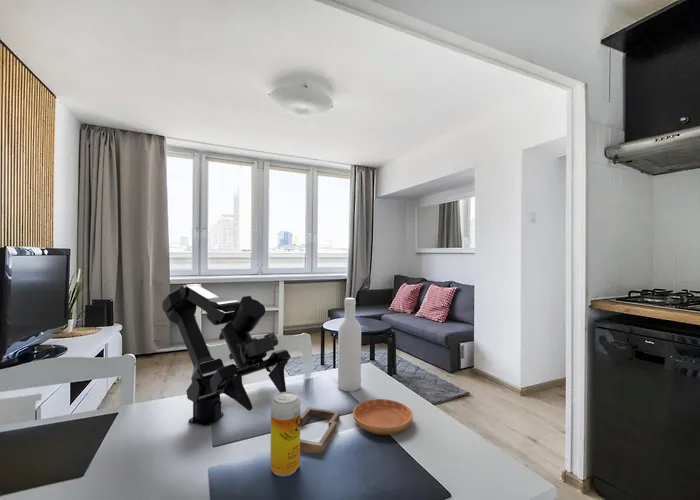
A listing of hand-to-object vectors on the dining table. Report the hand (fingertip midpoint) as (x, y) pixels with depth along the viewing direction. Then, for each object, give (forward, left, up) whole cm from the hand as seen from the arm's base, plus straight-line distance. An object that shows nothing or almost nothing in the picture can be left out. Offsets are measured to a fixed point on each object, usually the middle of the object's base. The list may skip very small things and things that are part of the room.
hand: (268, 402), depth 72 cm
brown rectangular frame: (+5, +13, -12) cm, 18 cm away
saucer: (+21, +23, -13) cm, 34 cm away
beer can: (+5, -2, -12) cm, 14 cm away
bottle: (+6, +42, -12) cm, 44 cm away
